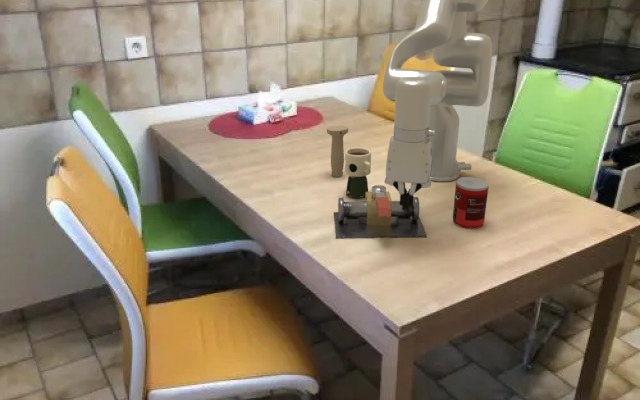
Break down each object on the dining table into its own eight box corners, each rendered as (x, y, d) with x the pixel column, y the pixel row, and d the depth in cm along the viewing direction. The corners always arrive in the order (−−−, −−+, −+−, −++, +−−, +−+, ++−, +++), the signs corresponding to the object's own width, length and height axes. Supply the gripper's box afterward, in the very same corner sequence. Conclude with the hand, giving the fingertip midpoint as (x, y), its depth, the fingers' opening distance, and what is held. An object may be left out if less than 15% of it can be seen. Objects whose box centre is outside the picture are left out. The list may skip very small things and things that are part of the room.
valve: (417, 212, 155) (418, 188, 153) (426, 237, 143) (428, 211, 140) (333, 213, 155) (334, 189, 152) (336, 238, 142) (336, 212, 140)
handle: (350, 176, 179) (351, 129, 173) (330, 179, 177) (331, 131, 171) (343, 171, 183) (343, 124, 177) (324, 174, 181) (324, 127, 175)
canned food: (460, 213, 155) (464, 174, 151) (489, 221, 151) (494, 181, 146) (446, 223, 150) (450, 183, 145) (475, 232, 145) (480, 191, 141)
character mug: (335, 191, 169) (336, 148, 163) (356, 186, 172) (357, 143, 167) (358, 204, 160) (359, 159, 155) (379, 198, 164) (380, 154, 158)
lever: (370, 192, 149) (371, 183, 148) (384, 192, 149) (385, 183, 148) (376, 217, 136) (376, 207, 135) (392, 216, 136) (392, 207, 135)
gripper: (445, 131, 133) (439, 205, 140) (380, 126, 136) (377, 199, 144) (443, 141, 126) (437, 218, 134) (374, 136, 130) (372, 211, 137)
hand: (406, 208), depth 139 cm, fingers closed
